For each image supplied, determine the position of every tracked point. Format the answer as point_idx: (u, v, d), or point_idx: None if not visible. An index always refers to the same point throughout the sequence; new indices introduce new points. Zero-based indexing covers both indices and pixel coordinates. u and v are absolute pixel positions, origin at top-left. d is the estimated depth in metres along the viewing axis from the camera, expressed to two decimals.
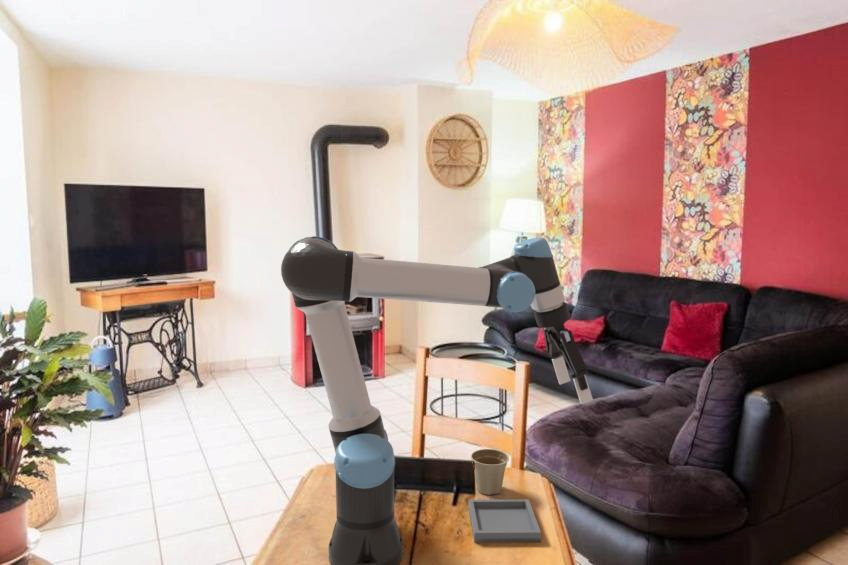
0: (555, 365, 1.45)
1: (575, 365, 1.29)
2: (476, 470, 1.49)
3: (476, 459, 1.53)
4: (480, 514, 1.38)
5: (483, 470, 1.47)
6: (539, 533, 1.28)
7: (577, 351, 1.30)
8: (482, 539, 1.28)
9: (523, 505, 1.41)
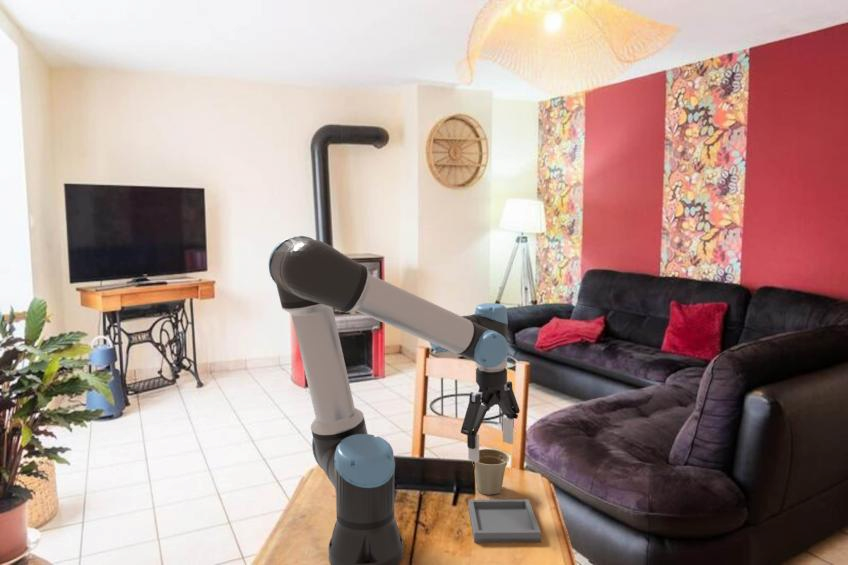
0: (503, 423, 1.55)
1: (464, 423, 1.43)
2: (476, 470, 1.49)
3: None
4: (480, 514, 1.38)
5: (483, 470, 1.47)
6: (539, 533, 1.28)
7: (473, 414, 1.42)
8: (482, 539, 1.28)
9: (523, 505, 1.41)
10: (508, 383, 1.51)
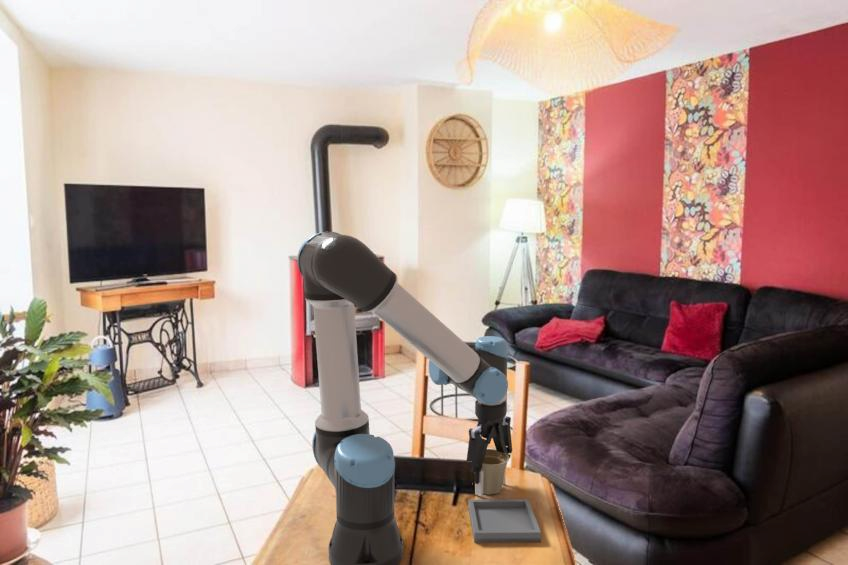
0: None
1: (468, 459, 1.45)
2: None
3: None
4: (480, 514, 1.38)
5: None
6: (539, 533, 1.28)
7: (474, 450, 1.44)
8: (482, 539, 1.28)
9: (523, 505, 1.41)
10: (507, 418, 1.52)
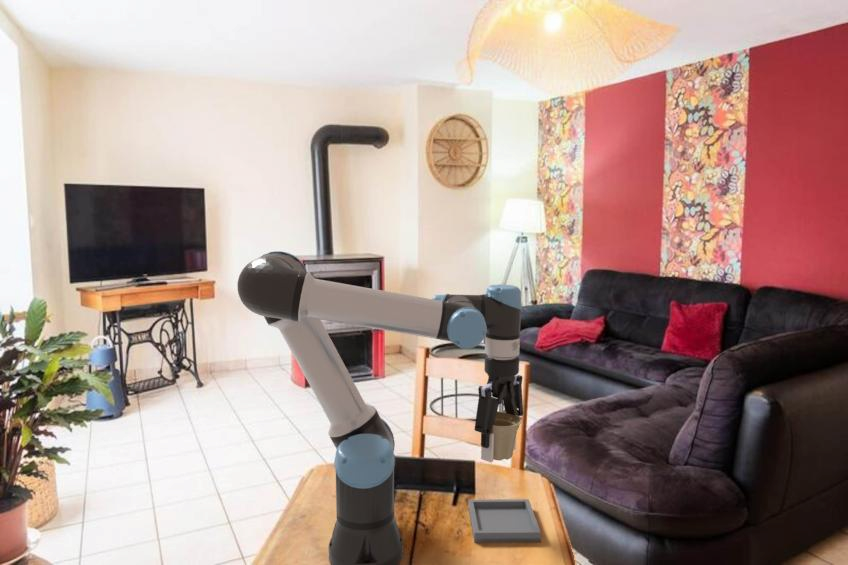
0: None
1: (477, 420, 1.30)
2: None
3: None
4: (480, 514, 1.38)
5: None
6: (539, 533, 1.28)
7: (485, 410, 1.29)
8: (482, 539, 1.28)
9: (523, 505, 1.41)
10: (518, 377, 1.38)
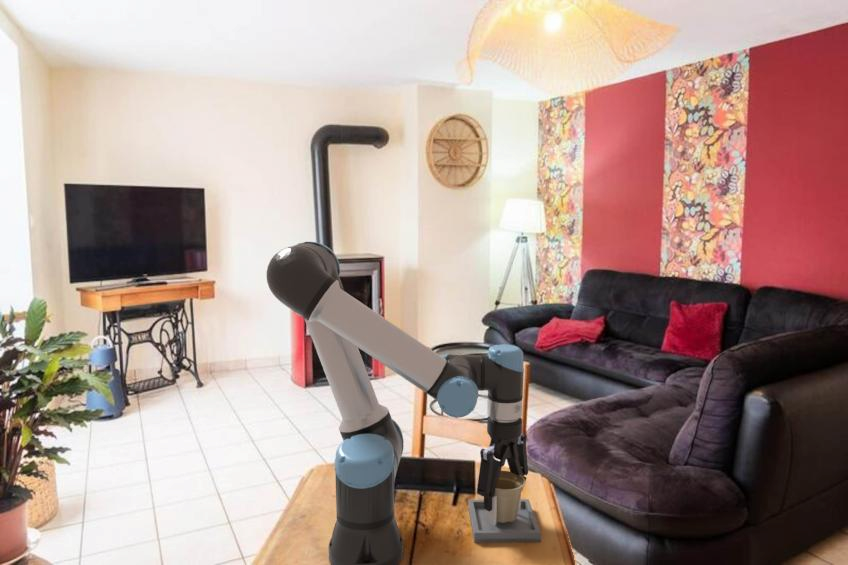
0: None
1: (479, 483, 1.29)
2: None
3: None
4: (480, 514, 1.38)
5: None
6: (539, 533, 1.28)
7: (487, 473, 1.28)
8: (482, 539, 1.28)
9: (523, 505, 1.41)
10: (522, 436, 1.36)
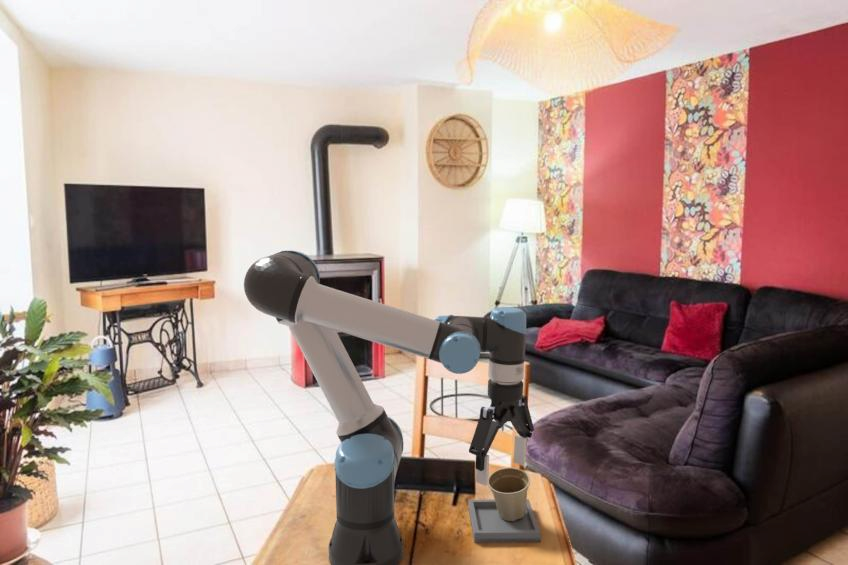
0: (515, 442, 1.38)
1: (473, 441, 1.26)
2: (495, 497, 1.34)
3: (494, 482, 1.38)
4: (480, 514, 1.38)
5: (503, 499, 1.32)
6: (539, 533, 1.28)
7: (483, 431, 1.25)
8: (482, 539, 1.28)
9: None
10: (523, 398, 1.35)
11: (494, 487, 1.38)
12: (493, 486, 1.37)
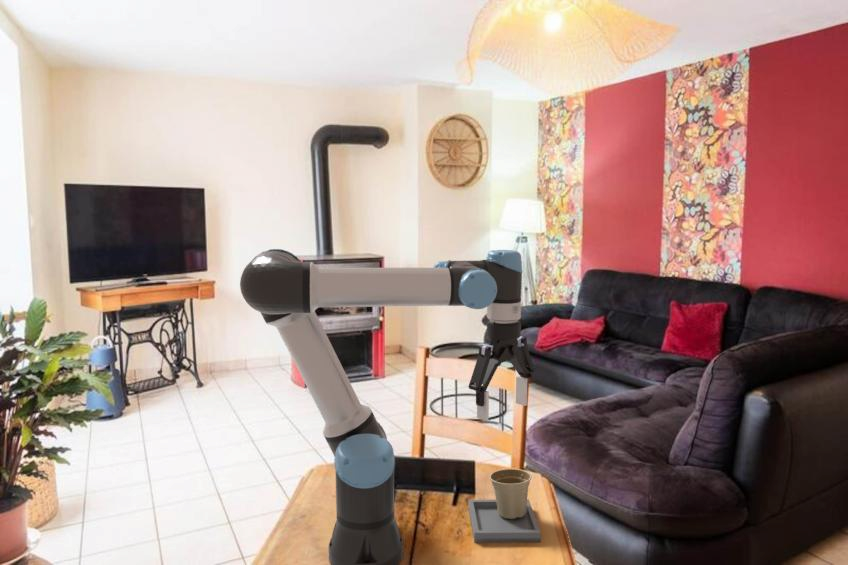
0: (517, 383, 1.43)
1: (472, 377, 1.31)
2: (496, 492, 1.36)
3: (496, 481, 1.40)
4: (480, 514, 1.38)
5: (504, 491, 1.34)
6: (539, 533, 1.28)
7: (482, 367, 1.31)
8: (482, 539, 1.28)
9: None
10: (522, 338, 1.39)
11: None
12: None
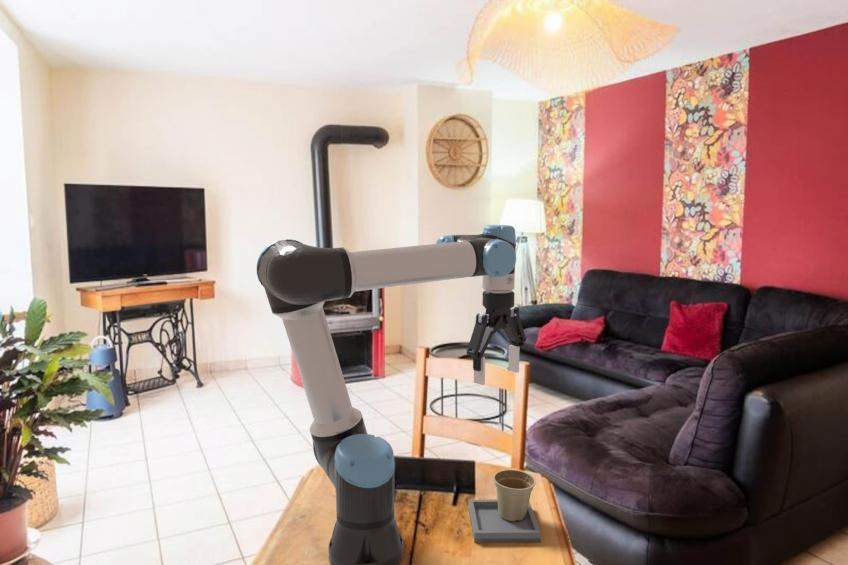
0: (509, 351, 1.52)
1: (470, 344, 1.40)
2: (498, 493, 1.35)
3: (499, 480, 1.39)
4: (480, 514, 1.38)
5: (506, 494, 1.33)
6: (539, 533, 1.28)
7: (479, 334, 1.39)
8: (482, 539, 1.28)
9: None
10: (515, 309, 1.48)
11: None
12: None
